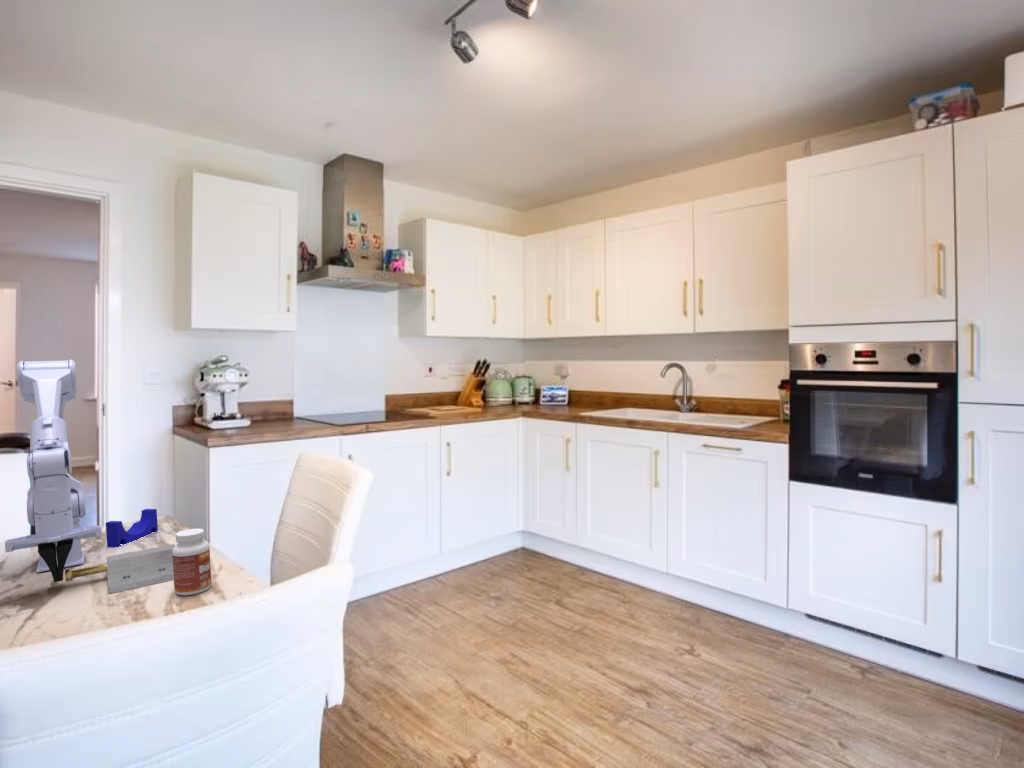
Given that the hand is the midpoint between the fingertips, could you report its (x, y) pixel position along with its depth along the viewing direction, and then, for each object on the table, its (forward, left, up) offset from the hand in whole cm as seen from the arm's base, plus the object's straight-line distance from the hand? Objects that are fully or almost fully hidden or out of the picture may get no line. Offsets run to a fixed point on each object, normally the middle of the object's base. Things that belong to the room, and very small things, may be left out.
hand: (58, 580), depth 113 cm
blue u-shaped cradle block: (-28, +13, -2) cm, 31 cm away
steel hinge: (0, +14, -2) cm, 14 cm away
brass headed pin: (0, +8, -1) cm, 8 cm away
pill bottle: (+18, +21, -2) cm, 28 cm away
